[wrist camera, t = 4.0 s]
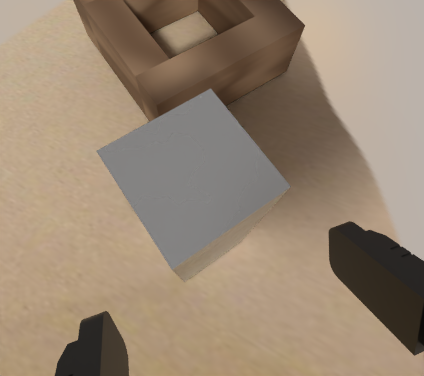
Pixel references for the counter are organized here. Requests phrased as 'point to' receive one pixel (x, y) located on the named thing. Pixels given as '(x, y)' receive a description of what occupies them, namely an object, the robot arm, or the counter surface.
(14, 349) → the counter surface
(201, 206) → the grey square pillar
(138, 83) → the well block
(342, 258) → the robot arm
